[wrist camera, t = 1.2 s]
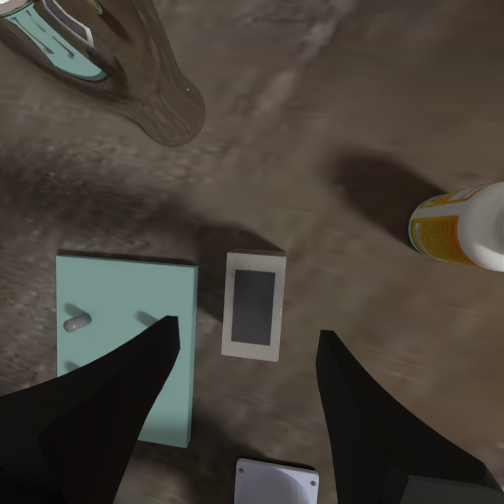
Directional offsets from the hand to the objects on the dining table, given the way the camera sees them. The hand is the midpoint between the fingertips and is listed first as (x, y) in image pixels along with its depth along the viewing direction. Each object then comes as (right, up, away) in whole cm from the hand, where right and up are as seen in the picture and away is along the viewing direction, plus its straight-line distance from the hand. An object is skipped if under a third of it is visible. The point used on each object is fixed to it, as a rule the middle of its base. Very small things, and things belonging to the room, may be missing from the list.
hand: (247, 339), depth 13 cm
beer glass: (-7, +17, +11) cm, 21 cm away
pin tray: (-12, -5, +13) cm, 19 cm away
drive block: (+1, +1, +11) cm, 11 cm away
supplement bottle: (+16, +6, +9) cm, 20 cm away
